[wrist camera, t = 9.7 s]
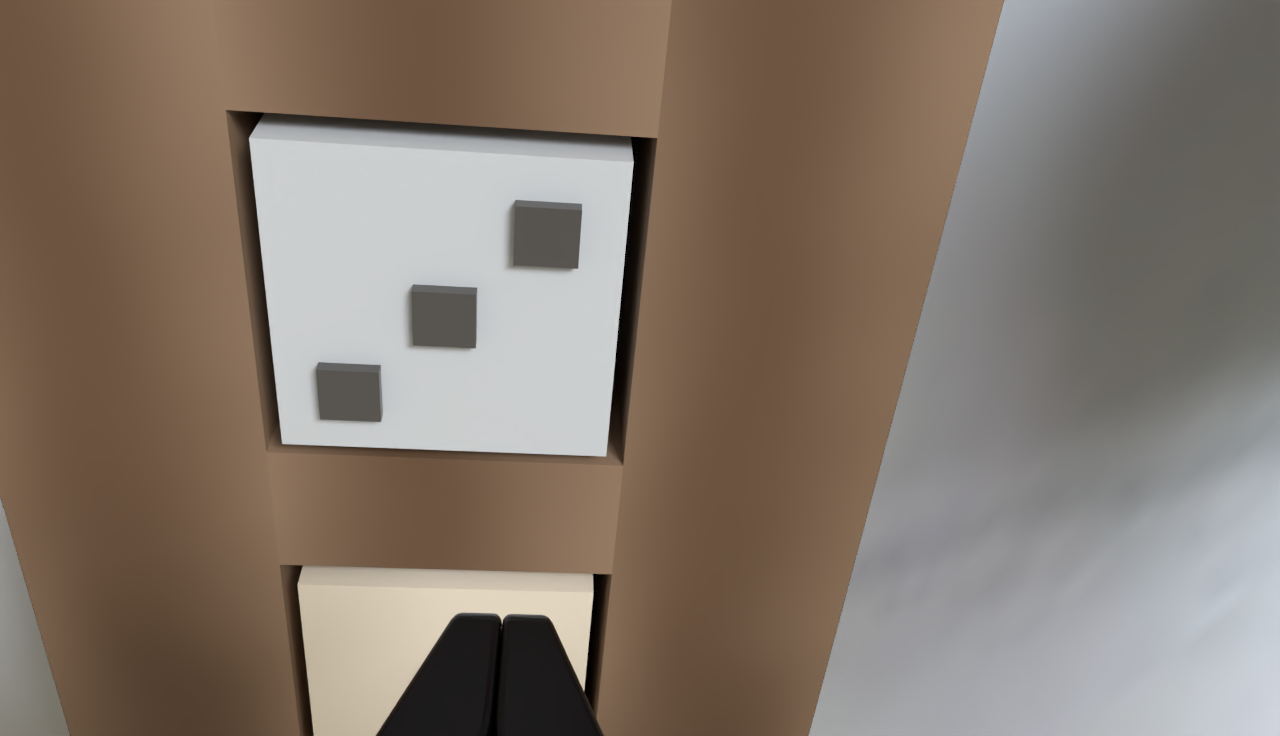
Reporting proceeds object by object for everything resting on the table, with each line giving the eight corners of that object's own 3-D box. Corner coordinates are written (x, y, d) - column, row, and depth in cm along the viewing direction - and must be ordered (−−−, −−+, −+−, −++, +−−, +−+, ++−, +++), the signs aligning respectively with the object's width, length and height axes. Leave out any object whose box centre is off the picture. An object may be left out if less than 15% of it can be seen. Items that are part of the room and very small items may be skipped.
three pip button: (624, 83, 18) (633, 168, 15) (601, 352, 20) (606, 464, 18) (295, 60, 17) (244, 144, 14) (318, 339, 20) (279, 451, 17)
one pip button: (590, 481, 22) (593, 601, 19) (576, 657, 25) (576, 783, 22) (329, 471, 21) (294, 593, 19) (343, 652, 24) (315, 780, 22)
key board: (1086, -701, 13) (1209, -777, 10) (766, 700, 26) (786, 815, 24) (-225, -885, 12) (-445, -1023, 9) (140, 689, 25) (91, 810, 22)
